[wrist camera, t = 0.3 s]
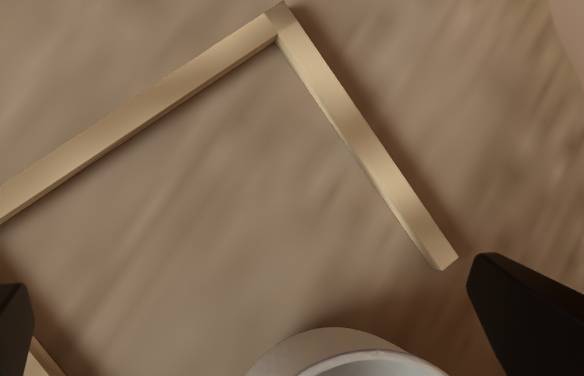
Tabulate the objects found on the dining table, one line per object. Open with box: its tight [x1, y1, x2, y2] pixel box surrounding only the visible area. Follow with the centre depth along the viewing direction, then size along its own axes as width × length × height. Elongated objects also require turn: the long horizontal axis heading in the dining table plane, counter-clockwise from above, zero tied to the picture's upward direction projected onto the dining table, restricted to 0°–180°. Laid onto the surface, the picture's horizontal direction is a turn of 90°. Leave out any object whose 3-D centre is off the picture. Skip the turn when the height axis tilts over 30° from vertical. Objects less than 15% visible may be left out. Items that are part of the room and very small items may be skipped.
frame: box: [0, 1, 458, 376], centre depth 22 cm, size 16×20×1 cm
